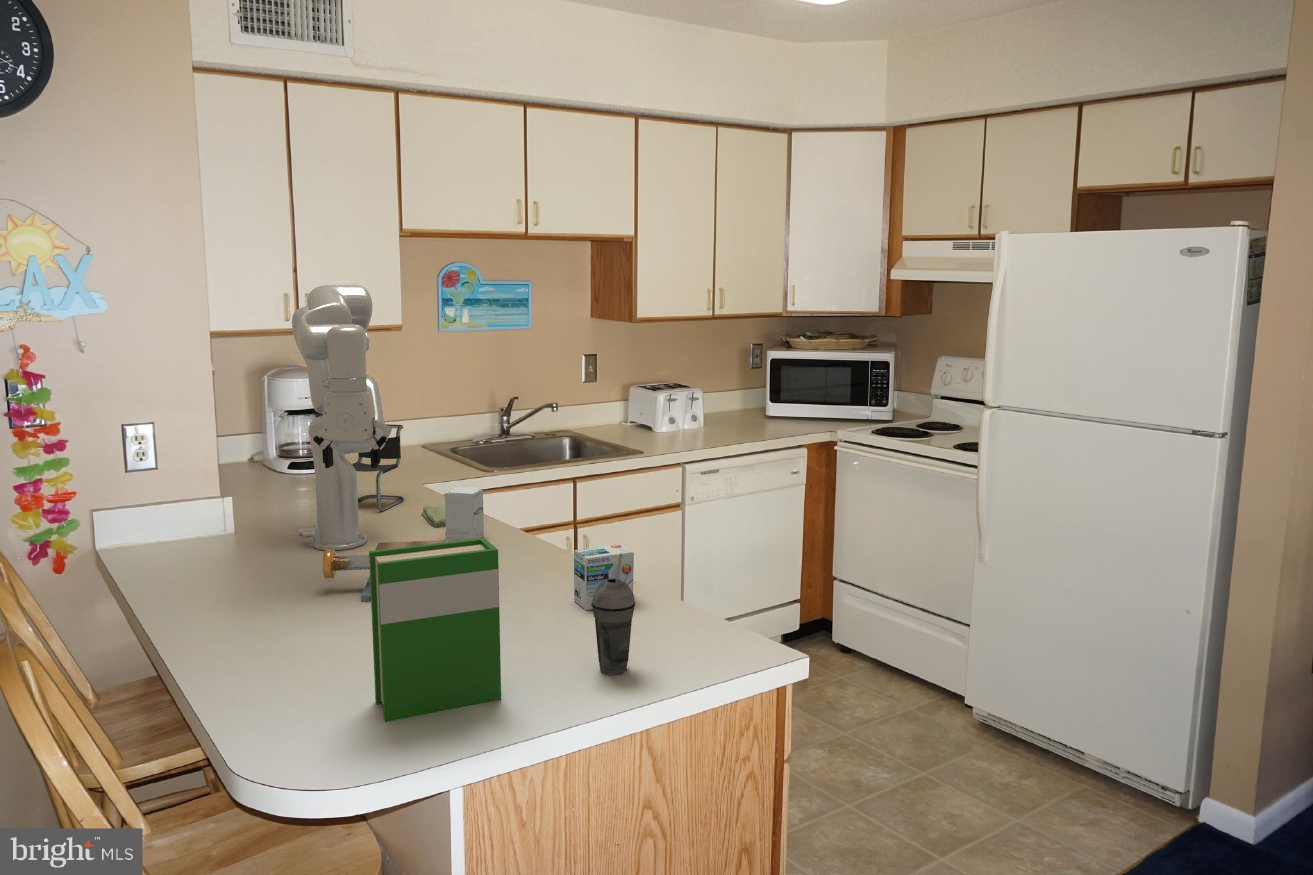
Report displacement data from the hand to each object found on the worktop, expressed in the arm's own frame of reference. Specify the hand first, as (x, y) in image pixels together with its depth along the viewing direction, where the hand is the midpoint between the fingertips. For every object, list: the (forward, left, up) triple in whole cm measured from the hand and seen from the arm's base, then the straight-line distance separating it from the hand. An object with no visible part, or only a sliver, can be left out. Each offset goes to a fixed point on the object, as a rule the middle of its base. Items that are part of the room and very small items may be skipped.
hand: (352, 467), depth 205 cm
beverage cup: (+49, -56, -25) cm, 78 cm away
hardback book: (+21, -64, -25) cm, 72 cm away
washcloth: (+17, +51, -25) cm, 59 cm away
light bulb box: (+51, -22, -25) cm, 61 cm away
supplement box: (+22, +29, -25) cm, 44 cm away
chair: (-5, +69, -25) cm, 73 cm away
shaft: (+5, -7, -22) cm, 23 cm away
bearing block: (+14, -7, -25) cm, 29 cm away
